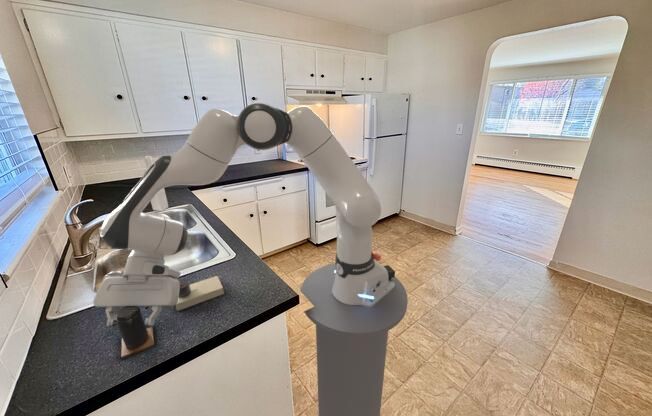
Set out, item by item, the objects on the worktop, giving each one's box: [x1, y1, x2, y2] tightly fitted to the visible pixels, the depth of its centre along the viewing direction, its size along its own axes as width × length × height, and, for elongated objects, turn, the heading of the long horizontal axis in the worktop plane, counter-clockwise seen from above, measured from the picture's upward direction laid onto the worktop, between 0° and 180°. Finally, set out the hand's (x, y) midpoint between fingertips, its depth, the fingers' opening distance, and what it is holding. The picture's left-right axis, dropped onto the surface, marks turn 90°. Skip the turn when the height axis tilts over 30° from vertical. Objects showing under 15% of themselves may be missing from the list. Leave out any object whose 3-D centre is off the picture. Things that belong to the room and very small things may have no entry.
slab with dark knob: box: [174, 275, 225, 312], centre depth 87 cm, size 15×8×3 cm, turn 124°
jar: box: [115, 306, 149, 349], centre depth 69 cm, size 5×5×10 cm
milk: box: [150, 188, 169, 212], centre depth 158 cm, size 6×6×22 cm
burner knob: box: [179, 280, 191, 298], centre depth 84 cm, size 4×4×4 cm
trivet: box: [120, 326, 155, 359], centre depth 71 cm, size 7×7×1 cm
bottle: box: [144, 155, 154, 174], centre depth 166 cm, size 8×8×30 cm
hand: (130, 326), depth 68 cm, fingers open, 8 cm apart
